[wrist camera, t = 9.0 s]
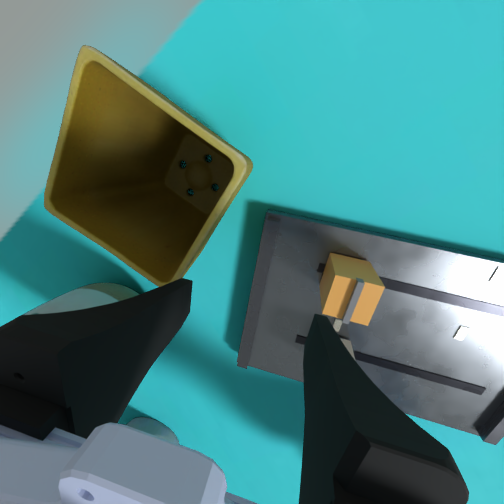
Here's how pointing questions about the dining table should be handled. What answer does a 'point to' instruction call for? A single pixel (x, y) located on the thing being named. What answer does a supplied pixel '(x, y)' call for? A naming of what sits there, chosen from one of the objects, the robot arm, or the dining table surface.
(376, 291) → the fader
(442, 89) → the dining table surface
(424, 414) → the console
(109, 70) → the flower pot
